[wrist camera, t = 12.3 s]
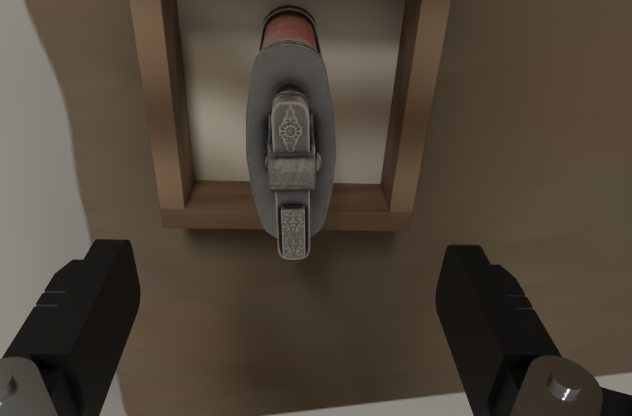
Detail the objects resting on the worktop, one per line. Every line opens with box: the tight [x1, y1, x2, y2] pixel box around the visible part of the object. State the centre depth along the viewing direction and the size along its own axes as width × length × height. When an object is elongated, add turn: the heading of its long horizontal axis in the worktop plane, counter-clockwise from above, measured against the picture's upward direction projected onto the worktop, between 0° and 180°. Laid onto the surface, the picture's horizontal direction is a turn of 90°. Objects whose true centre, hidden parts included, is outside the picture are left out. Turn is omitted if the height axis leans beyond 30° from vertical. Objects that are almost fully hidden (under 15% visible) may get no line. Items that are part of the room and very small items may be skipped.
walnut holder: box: [130, 0, 451, 231], centre depth 23 cm, size 13×13×4 cm
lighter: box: [246, 5, 336, 260], centre depth 20 cm, size 8×3×10 cm, turn 0°
